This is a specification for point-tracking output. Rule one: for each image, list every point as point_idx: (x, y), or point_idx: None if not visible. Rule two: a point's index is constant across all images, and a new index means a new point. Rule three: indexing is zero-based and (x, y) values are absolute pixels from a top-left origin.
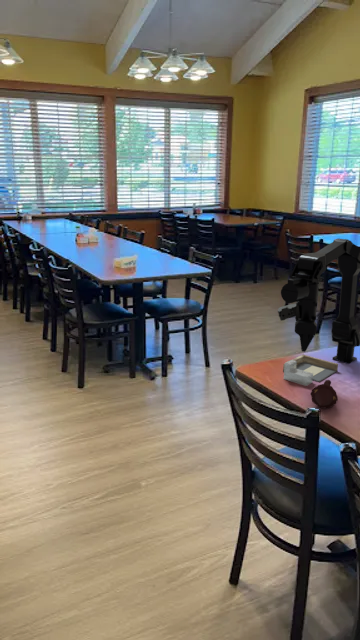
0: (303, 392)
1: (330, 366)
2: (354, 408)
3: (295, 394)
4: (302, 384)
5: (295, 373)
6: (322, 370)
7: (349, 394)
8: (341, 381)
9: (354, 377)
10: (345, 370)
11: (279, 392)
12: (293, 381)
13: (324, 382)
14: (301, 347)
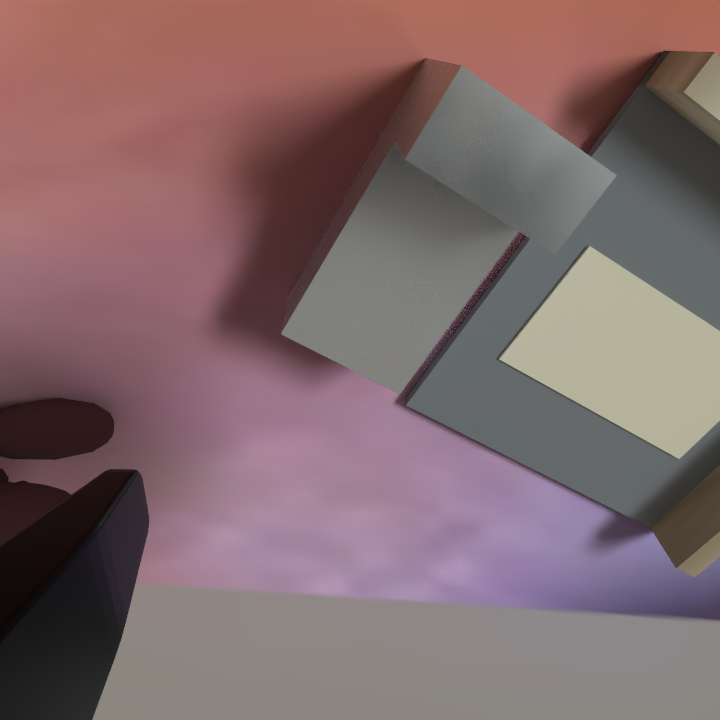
0: (128, 265)
1: (699, 508)
2: None
3: (45, 189)
4: (307, 263)
5: (359, 213)
6: (648, 440)
7: (225, 565)
8: (452, 539)
9: (539, 609)
10: (672, 573)
11: (14, 5)
12: (358, 175)
13: (2, 508)
14: (28, 530)
